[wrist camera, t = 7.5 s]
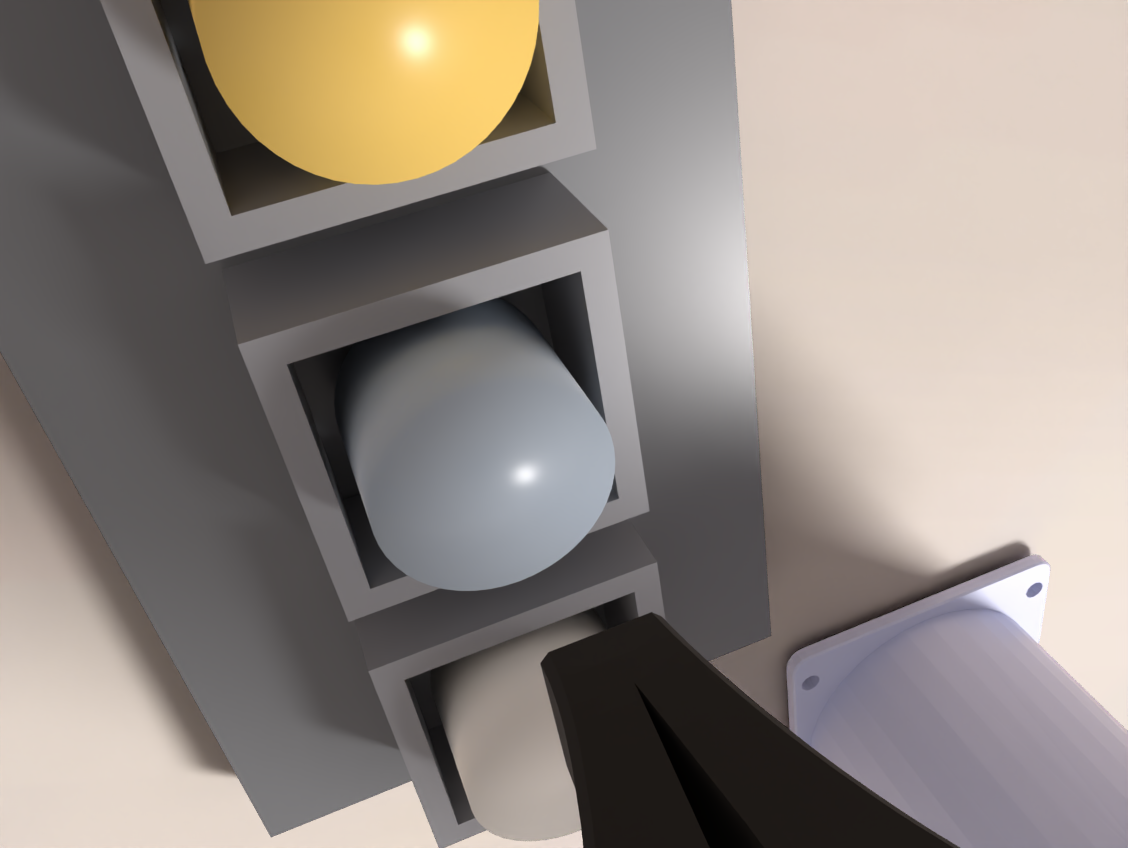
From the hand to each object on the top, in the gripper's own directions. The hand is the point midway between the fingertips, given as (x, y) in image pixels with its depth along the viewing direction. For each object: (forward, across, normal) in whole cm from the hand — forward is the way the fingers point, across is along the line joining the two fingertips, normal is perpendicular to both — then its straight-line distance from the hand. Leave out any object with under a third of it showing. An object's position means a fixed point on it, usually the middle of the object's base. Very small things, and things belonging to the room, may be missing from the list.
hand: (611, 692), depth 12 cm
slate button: (+7, 0, 0) cm, 7 cm away
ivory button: (+7, 0, +6) cm, 9 cm away
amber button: (+7, 0, -7) cm, 9 cm away
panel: (+9, 0, 0) cm, 9 cm away
